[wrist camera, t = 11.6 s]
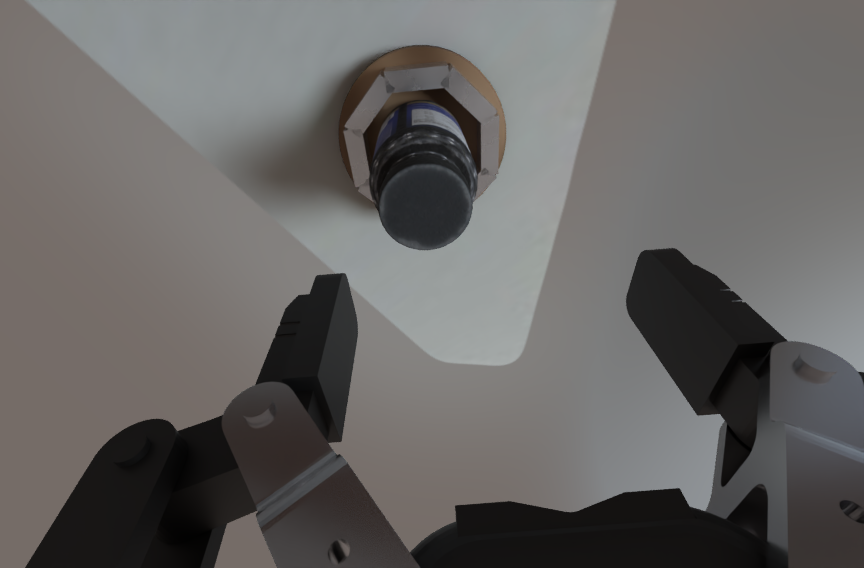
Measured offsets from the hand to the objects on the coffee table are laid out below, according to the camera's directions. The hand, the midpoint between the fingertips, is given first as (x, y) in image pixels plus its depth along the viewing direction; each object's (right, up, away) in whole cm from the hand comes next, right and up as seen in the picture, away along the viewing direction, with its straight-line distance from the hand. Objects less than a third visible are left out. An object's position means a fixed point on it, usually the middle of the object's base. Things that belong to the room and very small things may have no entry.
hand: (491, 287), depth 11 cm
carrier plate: (-2, +11, +18) cm, 22 cm away
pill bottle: (-2, +10, +17) cm, 20 cm away
